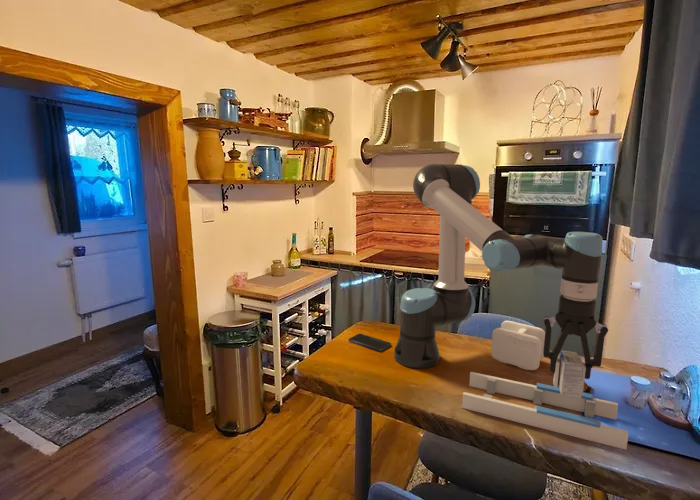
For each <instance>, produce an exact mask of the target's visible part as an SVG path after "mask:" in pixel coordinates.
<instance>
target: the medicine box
mask: <svg viewBox="0 0 700 500" xmlns="http://www.w3.org/2000/svg"><path fill="white" fill-rule="evenodd" d="M558 358H559V361H560V365H559V374H558V384H557V385H558V388H559V390H560V393H561V395H562V396H566V397H573V398H579V399H580V398H581V396H582V387H583V377H584V368H585V366H584V364H583V363H584V362H583V361H582V359H581V357H580V355H579V354H578V352H576V351H570V350H562V349H561V351H560V353H559V356H558Z"/></svg>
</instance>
